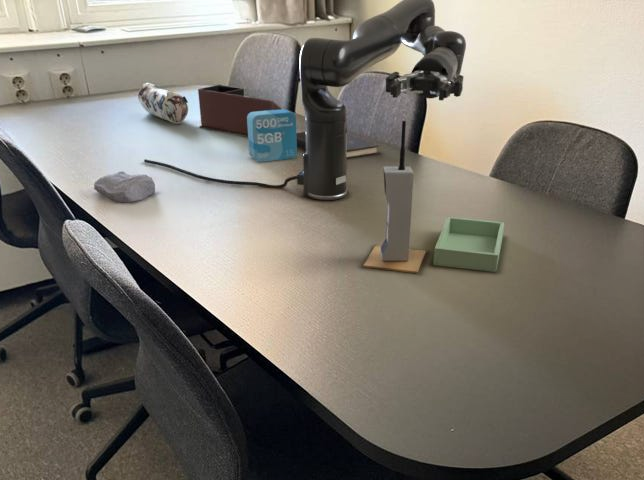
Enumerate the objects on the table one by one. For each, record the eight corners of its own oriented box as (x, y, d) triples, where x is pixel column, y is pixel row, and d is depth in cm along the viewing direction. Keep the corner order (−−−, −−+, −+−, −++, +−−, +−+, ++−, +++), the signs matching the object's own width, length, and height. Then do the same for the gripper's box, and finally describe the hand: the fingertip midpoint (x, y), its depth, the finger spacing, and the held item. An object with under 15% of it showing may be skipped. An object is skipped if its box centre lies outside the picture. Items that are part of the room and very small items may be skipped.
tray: (433, 264, 131) (434, 248, 129) (446, 231, 146) (447, 216, 144) (496, 272, 129) (498, 255, 127) (502, 237, 144) (504, 222, 142)
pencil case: (191, 122, 221) (188, 89, 216) (166, 126, 217) (162, 92, 212) (162, 109, 236) (158, 78, 231) (138, 112, 231) (133, 81, 226)
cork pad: (363, 267, 129) (363, 265, 129) (375, 247, 138) (375, 245, 137) (417, 273, 127) (417, 271, 127) (426, 252, 136) (426, 250, 136)
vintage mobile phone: (380, 254, 134) (385, 117, 121) (406, 253, 134) (413, 118, 121) (381, 261, 130) (387, 122, 118) (408, 261, 131) (416, 123, 118)
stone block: (132, 211, 156) (160, 190, 163) (125, 192, 153) (154, 171, 160) (92, 204, 161) (120, 184, 167) (84, 185, 157) (113, 165, 164)
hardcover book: (333, 135, 211) (333, 127, 210) (378, 153, 195) (378, 145, 194) (286, 142, 203) (286, 134, 202) (329, 161, 188) (329, 153, 186)
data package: (255, 162, 185) (252, 115, 179) (249, 158, 188) (246, 112, 182) (297, 158, 190) (296, 111, 184) (291, 153, 193) (289, 108, 187)
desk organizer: (222, 121, 224) (219, 83, 218) (296, 135, 211) (295, 95, 205) (198, 127, 216) (195, 88, 210) (274, 142, 203) (272, 101, 197)
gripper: (467, 95, 141) (455, 117, 128) (398, 91, 144) (379, 111, 131) (470, 55, 137) (457, 73, 124) (399, 52, 140) (379, 69, 127)
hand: (417, 93), depth 128 cm, fingers open, 8 cm apart
